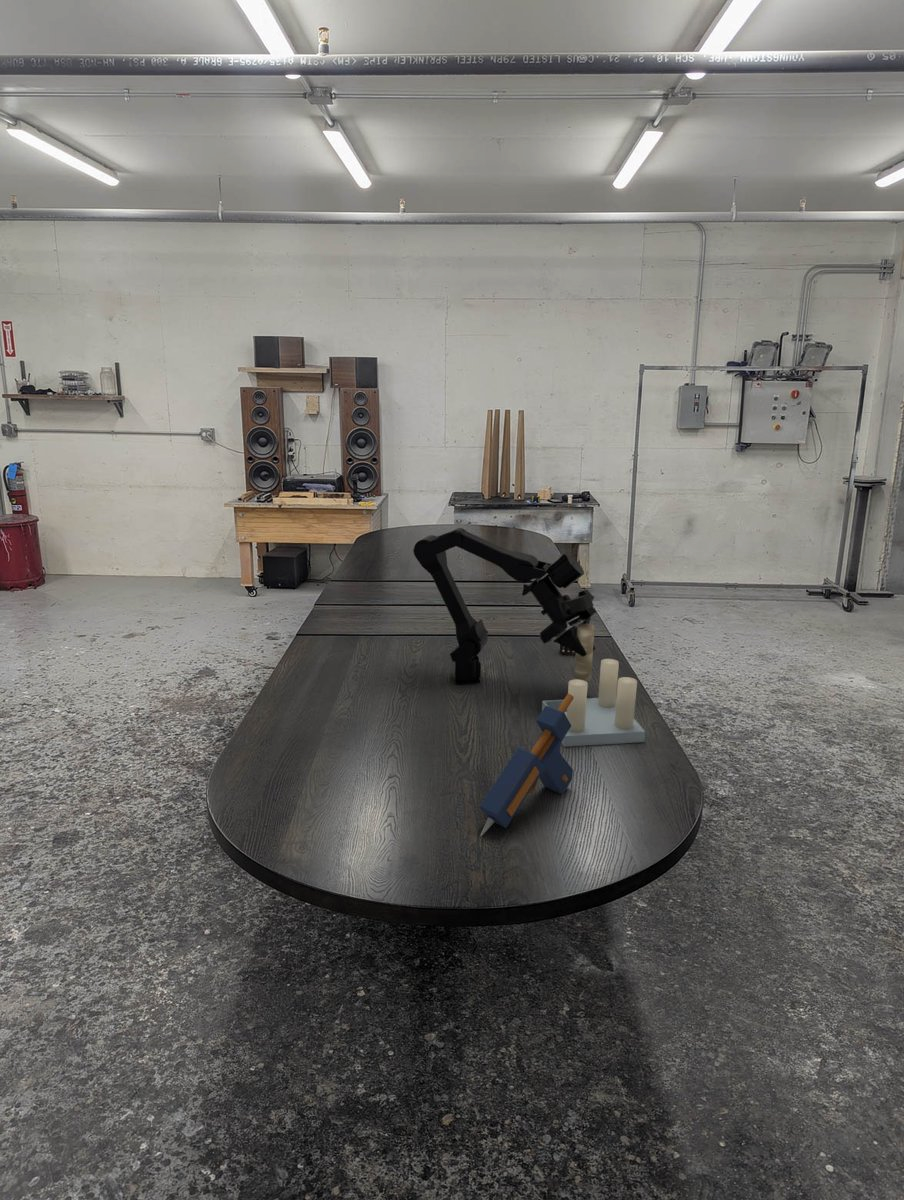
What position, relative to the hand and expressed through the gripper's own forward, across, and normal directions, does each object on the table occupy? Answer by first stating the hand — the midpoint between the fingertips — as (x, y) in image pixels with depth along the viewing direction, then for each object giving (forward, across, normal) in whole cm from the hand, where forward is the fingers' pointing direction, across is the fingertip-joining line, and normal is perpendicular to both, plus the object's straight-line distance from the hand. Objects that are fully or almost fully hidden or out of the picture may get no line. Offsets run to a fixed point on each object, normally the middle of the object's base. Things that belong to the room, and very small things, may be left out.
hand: (589, 653), depth 174 cm
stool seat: (+14, -10, +5) cm, 18 cm away
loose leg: (+4, 0, +6) cm, 7 cm away
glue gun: (+18, -48, +1) cm, 51 cm away
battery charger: (-4, +28, +23) cm, 36 cm away
